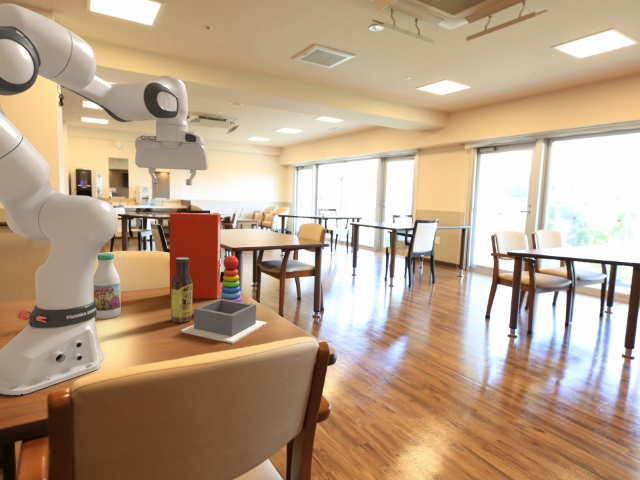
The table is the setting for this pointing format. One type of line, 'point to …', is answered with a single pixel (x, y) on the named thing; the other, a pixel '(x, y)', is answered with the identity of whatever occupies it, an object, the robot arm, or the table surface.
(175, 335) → the table surface
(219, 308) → the mount collar
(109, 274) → the milk bottle
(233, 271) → the stacking toy
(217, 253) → the tall red box
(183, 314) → the sauce bottle
